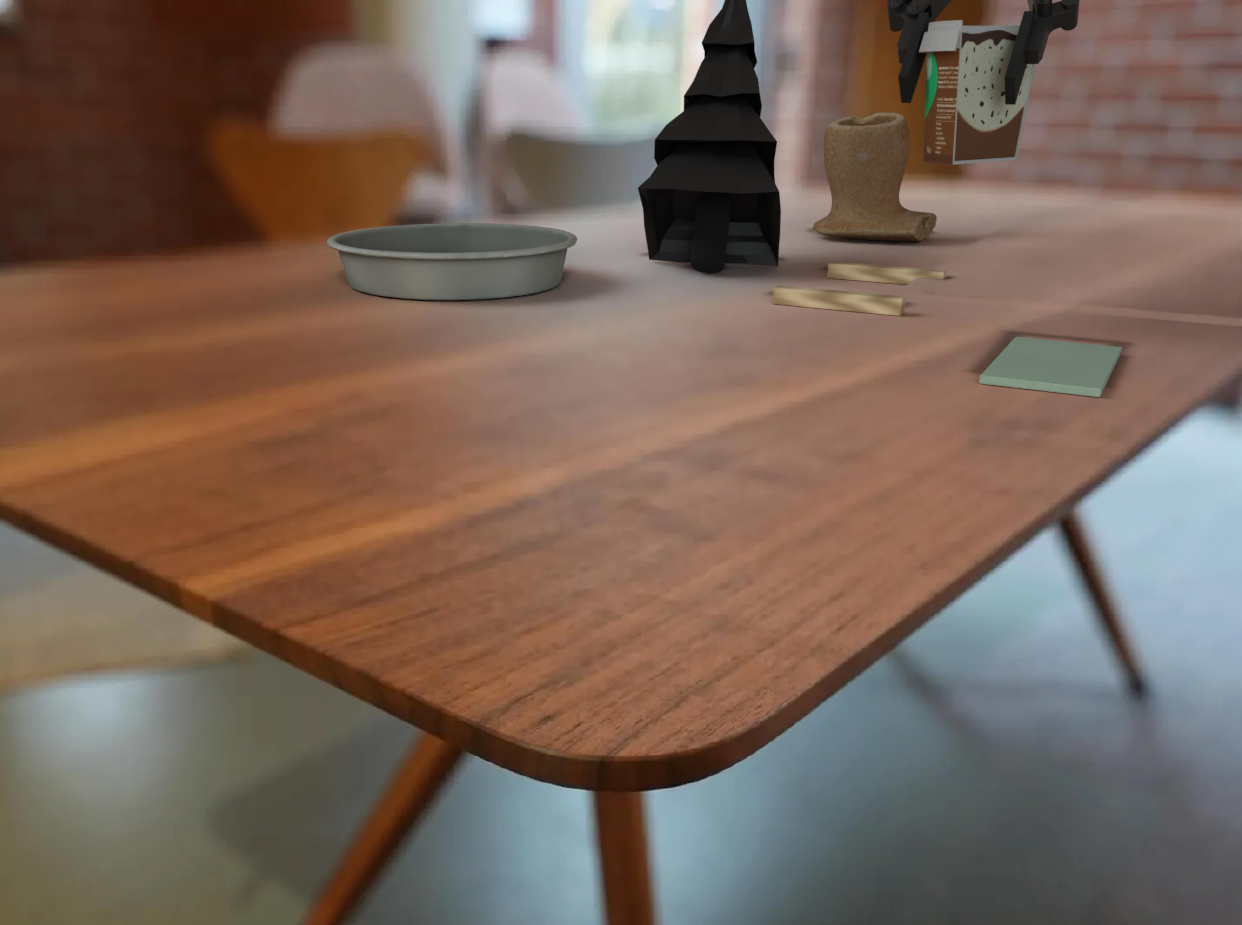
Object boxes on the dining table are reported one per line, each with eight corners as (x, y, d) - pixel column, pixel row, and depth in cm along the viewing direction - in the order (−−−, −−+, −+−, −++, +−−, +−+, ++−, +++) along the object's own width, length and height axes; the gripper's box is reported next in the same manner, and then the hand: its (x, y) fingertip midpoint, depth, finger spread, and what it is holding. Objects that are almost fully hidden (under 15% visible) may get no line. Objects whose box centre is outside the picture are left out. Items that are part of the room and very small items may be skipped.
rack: (945, 285, 119) (947, 270, 118) (900, 316, 104) (902, 298, 103) (830, 276, 124) (832, 261, 123) (772, 303, 109) (773, 287, 108)
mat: (1120, 354, 91) (1122, 346, 90) (1099, 397, 79) (1101, 388, 78) (1014, 344, 94) (1015, 336, 94) (978, 383, 82) (979, 375, 81)
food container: (962, 156, 102) (978, 27, 98) (1026, 159, 98) (1045, 24, 94) (876, 161, 95) (889, 22, 90) (941, 165, 90) (958, 19, 86)
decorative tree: (776, 300, 129) (804, 16, 135) (777, 231, 115) (807, -83, 120) (645, 294, 131) (677, 15, 137) (629, 226, 117) (666, -82, 122)
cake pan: (548, 261, 131) (547, 218, 129) (604, 299, 110) (604, 249, 108) (325, 267, 126) (321, 223, 124) (338, 309, 104) (333, 256, 102)
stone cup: (803, 243, 147) (814, 113, 141) (819, 232, 157) (830, 110, 151) (926, 249, 143) (943, 115, 136) (935, 237, 153) (950, 112, 146)
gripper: (1151, -92, 96) (1092, 129, 90) (905, -80, 104) (836, 123, 98) (1160, -181, 89) (1097, 51, 83) (897, -161, 98) (822, 52, 92)
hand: (956, 90), depth 91 cm, fingers closed on food container, 7 cm apart
